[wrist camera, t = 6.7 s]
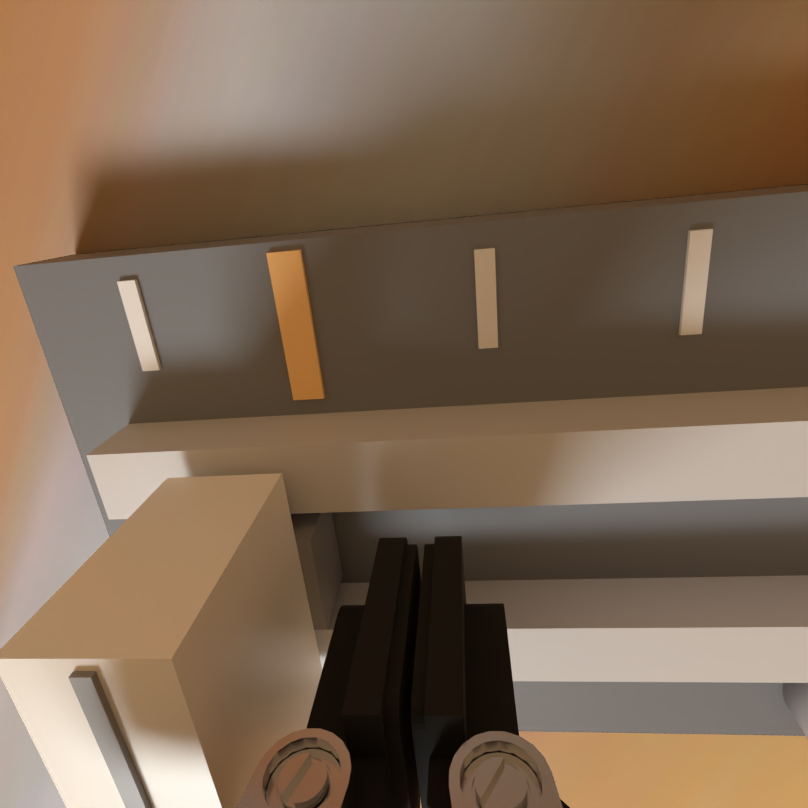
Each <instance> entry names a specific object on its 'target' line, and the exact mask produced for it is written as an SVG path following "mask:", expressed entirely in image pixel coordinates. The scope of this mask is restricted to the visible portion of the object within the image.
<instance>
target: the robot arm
mask: <svg viewBox="0 0 808 808" xmlns="http://www.w3.org/2000/svg"><path fill="white" fill-rule="evenodd" d="M420 797H421V805H422V808H570V807H569V806H567V805H566V804H565V803H564V802H563V801H562V800H561V799H560V797H559V794H558V791H557V787H556V784H555V781H554V778H553V775H552V772H551V770H550V768H549V766H548V764H547V762H546V759H545V757H544V756H543V755H542V754H541V753H540V752H539V751H538V750H537V748H536V747H535V746H534V745H533V744H531V743H530V742H528V741H527V740H525V739H523V738H522V737H520V736H519V731H518V722H517V714H516V705H515V696H514V687H513V678H512V669H511V660H510V652H509V643H508V634H507V625H506V616H505V608H504V603H494V604H466V592H465V577H464V562H463V547H462V536H437V537H435V540H434V544H425V546H424V556H423V568H422V579H421V574H420V565H419V555H418V547H417V544H409V545H408V541H407V538H406V537H400V538H380V539H379V542H378V546H377V551H376V555H375V560H374V565H373V569H372V574H371V579H370V583H369V588H368V592H367V597H366V602H365V605H342V606H341V607H340V609H339V612H338V614H337V618H336V622H335V625H334V629H333V633H332V636H331V640H330V644H329V647H328V651H327V655H326V658H325V662H324V666H323V669H322V673H321V677H320V680H319V684H318V688H317V691H316V695H315V698H314V702H313V706H312V709H311V713H310V717H309V720H308V724H307V728H306V729H302V730H299V731H295V732H292V733H290V734H288V735H287V736H285V737H283V738H281V739H280V740H278V741H277V742H276V743H275V744H274V745H273V746H272V747H271V748H270V749H268V750H267V751H266V753H265V754H264V756H263V757H262V759H261V760H260V762H259V763H258V765H257V767H256V769H255V771H254V773H253V775H252V777H251V779H250V781H249V783H248V785H247V787H246V789H245V791H244V794H243V796H242V798H241V800H240V802H239V804H238V806H237V807H236V808H420Z"/></svg>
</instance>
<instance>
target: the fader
mask: <svg viewBox="0 0 808 808" xmlns="http://www.w3.org/2000/svg"><path fill="white" fill-rule="evenodd" d="M342 576H343V574H342V569H341V563H340V557H339V551H338V545H337V539H336V533H335V528H334V522H333V516H332V512H330V513H299V514H290V510H289V505H288V500H287V495H286V490H285V485H284V480H283V475H282V473H275V474H251V475H227V476H203V477H179V478H167V479H166V480H165V481H164V482H163V483H162V484H161V485H160V486H159V487H158V488H157V489H156V490H155V491H154V492H153V493H152V494H151V495H150V496H149V497H148V498H147V499H146V500H145V502H144V503H143V504H142V505H141V506H140V507H139V508H138V509H137V510H136V511H135V512H134V513H133V514H132V515H131V516H130V517H129V518H128V519H127V520H126V521H125V522H124V523H123V524H122V525H121V526H120V527H119V528H118V529H117V530H116V531H115V532H114V533H113V534H112V535H111V536H110V538H109V539H108V540H107V541H106V542H105V543H104V544H103V545H102V546H101V547H100V548H99V549H98V550H97V551H96V552H95V553H94V554H93V555H92V556H91V557H90V558H89V559H88V560H87V561H86V562H85V563H84V564H83V565H82V566H81V567H80V568H79V569H78V570H77V571H76V572H75V573H74V575H73V576H72V577H71V578H70V579H69V580H68V581H67V582H66V583H65V584H64V585H63V586H62V587H61V588H60V589H59V590H58V591H57V592H56V593H55V594H54V595H53V596H52V597H51V598H50V599H49V600H48V601H47V602H46V603H45V604H44V605H43V606H42V607H41V608H40V609H39V611H38V612H37V613H36V614H35V615H34V616H33V617H32V618H31V619H30V620H29V621H28V622H27V623H26V624H25V625H24V626H23V627H22V628H21V629H20V630H19V631H18V632H17V633H16V634H15V635H14V636H13V637H12V638H11V639H10V640H9V641H8V642H7V643H6V644H5V645H4V647H3V648H2V649H1V650H0V676H1V678H2V680H3V682H4V684H5V686H6V688H7V690H8V692H9V694H10V696H11V698H12V700H13V702H14V704H15V706H16V708H17V710H18V712H19V714H20V716H21V718H22V720H23V722H24V724H25V726H26V728H27V730H28V732H29V734H30V736H31V738H32V740H33V742H34V744H35V746H36V748H37V750H38V752H39V754H40V756H41V758H42V760H43V762H44V764H45V766H46V768H47V770H48V772H49V774H50V776H51V778H52V780H53V782H54V784H55V786H56V788H57V790H58V792H59V794H60V795H61V797H62V799H63V801H64V803H65V805H66V807H67V808H236V807H237V806H238V804H239V802H240V800H241V798H242V796H243V794H244V791H245V789H246V787H247V785H248V783H249V781H250V779H251V777H252V775H253V773H254V771H255V769H256V767H257V765H258V763H259V762H260V760H261V759H262V757H263V756H264V754H265V753H266V751H267V750H268V749H270V748H271V747H272V746H273V745H274V744H275V743H276V742H277V741H278V740H280V739H281V738H283V737H285V736H287V735H288V734H290V733H292V732H295V731H299V730H302V729H306V728H307V724H308V720H309V717H310V713H311V709H312V706H313V702H314V698H315V695H316V691H317V688H318V684H319V680H320V677H321V673H322V666H321V661H320V656H319V651H318V647H317V642H316V637H315V632H314V630H327V628H328V625H329V621H330V618H331V615H332V611H333V608H334V604H335V601H336V597H337V594H338V590H339V587H340V583H341V580H342Z"/></svg>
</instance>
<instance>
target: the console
mask: <svg viewBox="0 0 808 808" xmlns="http://www.w3.org/2000/svg"><path fill="white" fill-rule="evenodd" d="M13 267H14V270H15V273H16V276H17V278H18V281H19V284H20V287H21V290H22V292H23V295H24V298H25V301H26V304H27V307H28V309H29V312H30V315H31V318H32V321H33V323H34V326H35V329H36V332H37V335H38V337H39V340H40V343H41V346H42V349H43V351H44V354H45V357H46V360H47V363H48V365H49V368H50V371H51V374H52V377H53V379H54V382H55V385H56V388H57V391H58V393H59V396H60V399H61V402H62V405H63V407H64V410H65V413H66V416H67V419H68V421H69V424H70V427H71V430H72V433H73V436H74V438H75V441H76V444H77V447H78V450H79V452H80V455H81V458H82V461H83V464H84V466H85V469H86V472H87V475H88V478H89V480H90V483H91V486H92V489H93V492H94V494H95V497H96V500H97V503H98V506H99V508H100V511H101V514H102V517H103V520H104V522H105V525H106V528H107V531H108V534H109V536H111V535H112V534H113V533H114V532H115V531H116V530H117V529H118V528H119V527H120V526H121V525H122V524H123V523H124V522H125V521H126V520H127V519H128V518H129V517H130V516H131V515H132V514H133V513H134V512H135V511H136V510H137V509H138V508H139V507H140V506H141V505H142V504H143V503H144V502H145V500H146V499H147V498H148V497H149V496H150V495H151V494H152V493H153V492H154V491H155V490H156V489H157V488H158V487H159V486H160V485H161V484H162V483H163V482H164V481H165V480H166V479H167V478H179V477H203V476H227V475H251V474H275V473H282V475H283V480H284V485H285V490H286V495H287V500H288V505H289V510H290V514H299V513H330V512H332V516H333V522H334V528H335V533H336V539H337V545H338V551H339V557H340V563H341V569H342V574H343V576H342V580H341V583H340V587H339V590H338V594H337V597H336V601H335V604H334V608H333V611H332V615H331V618H330V621H329V625H328V628H327V630H314V632H315V637H316V642H317V647H318V651H319V656H320V661H321V666H322V669H323V666H324V662H325V658H326V655H327V651H328V647H329V644H330V640H331V636H332V633H333V629H334V625H335V622H336V618H337V614H338V612H339V609H340V607H341V606H342V605H365V602H366V597H367V592H368V588H369V583H370V579H371V574H372V569H373V565H374V560H375V555H376V551H377V546H378V542H379V539H380V538H400V537H406V538H407V541H408V545H409V544H417V547H418V555H419V565H420V574H421V579H422V568H423V556H424V546H425V544H434V540H435V537H437V536H462V547H463V562H464V577H465V592H466V604H494V603H504V608H505V616H506V625H507V634H508V643H509V652H510V660H511V669H512V678H513V687H514V696H515V705H516V714H517V722H518V731H541V732H602V733H664V734H726V735H788V736H806V737H807V738H808V184H805V185H795V186H784V187H774V188H763V189H753V190H743V191H732V192H722V193H711V194H701V195H690V196H680V197H669V198H659V199H649V200H638V201H628V202H617V203H607V204H596V205H586V206H576V207H565V208H555V209H544V210H534V211H523V212H513V213H503V214H492V215H482V216H471V217H461V218H450V219H440V220H429V221H419V222H409V223H398V224H388V225H377V226H367V227H356V228H346V229H336V230H325V231H315V232H304V233H294V234H283V235H273V236H262V237H252V238H242V239H231V240H221V241H210V242H200V243H189V244H179V245H169V246H158V247H148V248H137V249H127V250H116V251H106V252H95V253H85V254H75V255H69V256H64V257H59V258H54V259H48V260H43V261H38V262H33V263H28V264H23V265H17V266H13Z"/></svg>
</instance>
